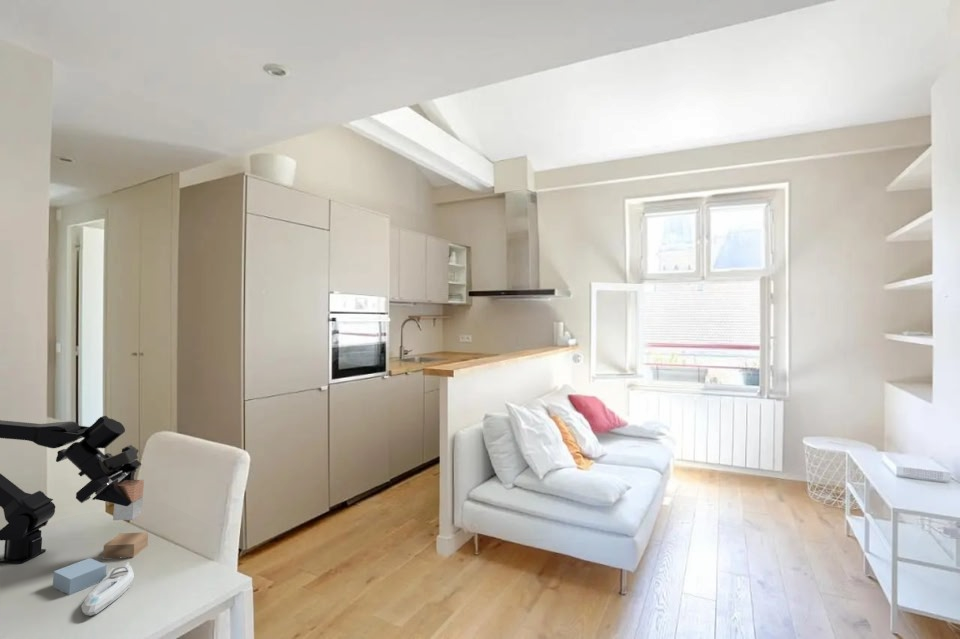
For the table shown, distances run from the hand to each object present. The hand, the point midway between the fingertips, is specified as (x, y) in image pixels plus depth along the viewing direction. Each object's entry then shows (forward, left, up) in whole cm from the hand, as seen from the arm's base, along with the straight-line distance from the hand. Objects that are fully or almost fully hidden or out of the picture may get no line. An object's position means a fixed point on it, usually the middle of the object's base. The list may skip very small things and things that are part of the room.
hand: (134, 501), depth 121 cm
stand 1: (0, -15, -13) cm, 20 cm away
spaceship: (+8, -17, -14) cm, 24 cm away
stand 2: (-1, 0, -13) cm, 14 cm away
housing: (-1, 0, -4) cm, 4 cm away
